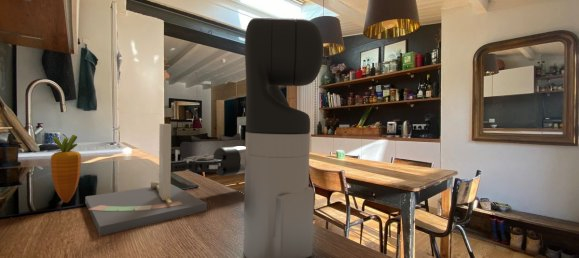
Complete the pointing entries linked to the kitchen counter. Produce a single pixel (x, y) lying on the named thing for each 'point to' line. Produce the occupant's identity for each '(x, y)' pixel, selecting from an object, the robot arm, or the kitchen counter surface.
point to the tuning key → (164, 164)
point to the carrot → (66, 168)
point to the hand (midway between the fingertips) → (167, 167)
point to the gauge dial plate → (139, 208)
